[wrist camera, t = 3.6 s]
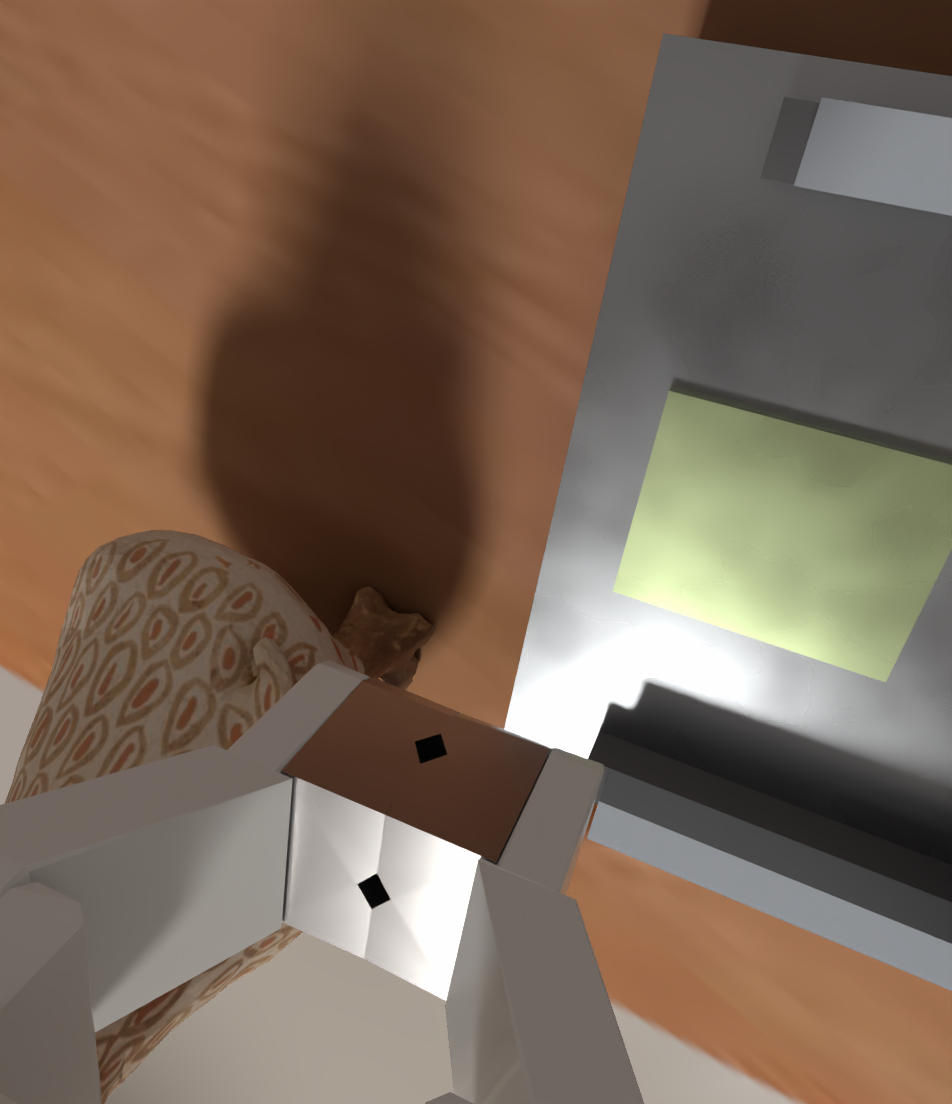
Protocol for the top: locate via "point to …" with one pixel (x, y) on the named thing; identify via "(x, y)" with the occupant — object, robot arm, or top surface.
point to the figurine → (186, 698)
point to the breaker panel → (761, 467)
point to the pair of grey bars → (740, 812)
